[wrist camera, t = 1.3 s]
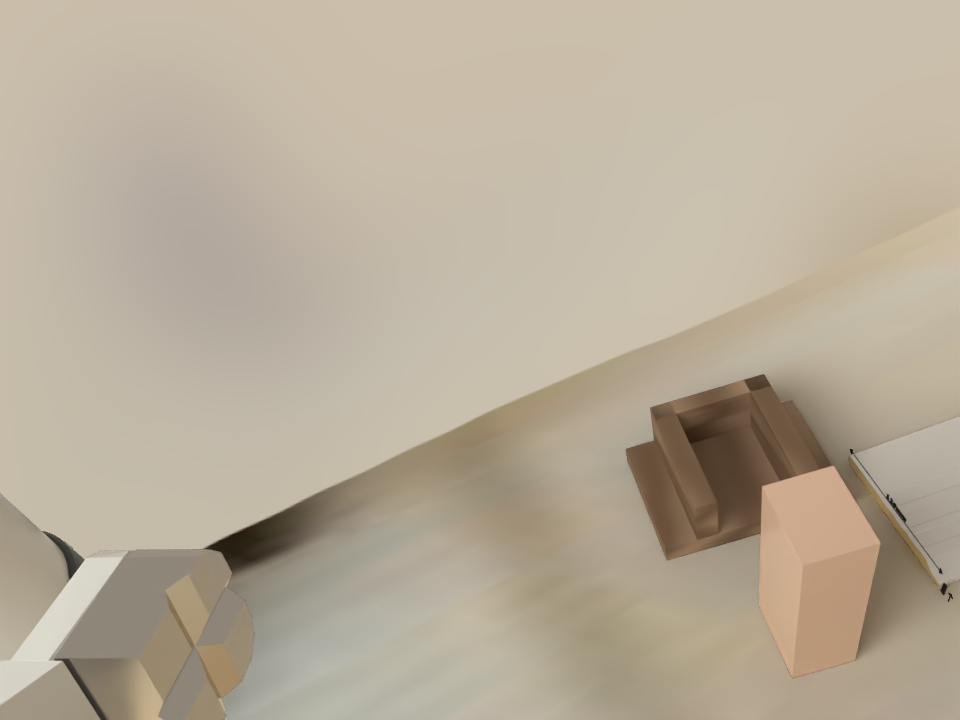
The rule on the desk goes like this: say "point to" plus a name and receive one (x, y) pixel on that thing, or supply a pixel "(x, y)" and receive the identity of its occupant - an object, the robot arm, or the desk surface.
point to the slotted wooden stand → (719, 463)
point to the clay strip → (815, 569)
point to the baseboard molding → (920, 493)
